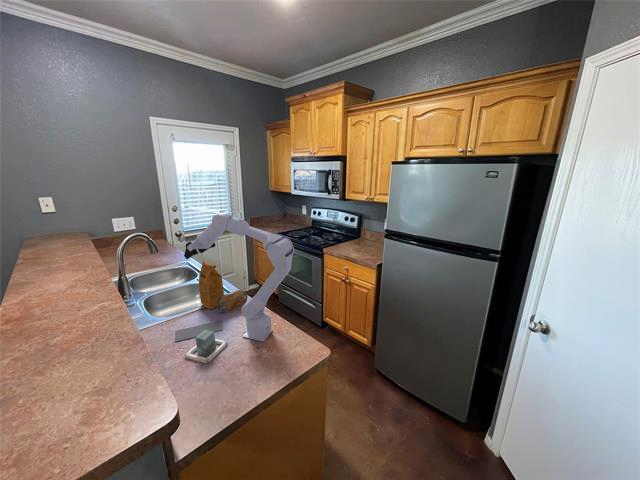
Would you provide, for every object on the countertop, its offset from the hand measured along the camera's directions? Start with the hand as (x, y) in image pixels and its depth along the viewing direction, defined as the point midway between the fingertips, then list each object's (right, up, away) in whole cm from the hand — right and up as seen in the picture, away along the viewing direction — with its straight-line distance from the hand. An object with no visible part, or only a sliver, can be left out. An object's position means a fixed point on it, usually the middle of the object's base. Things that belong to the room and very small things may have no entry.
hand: (193, 254), depth 108 cm
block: (+10, -36, -10) cm, 39 cm away
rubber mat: (+2, -32, +2) cm, 33 cm away
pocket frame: (+10, -36, -10) cm, 39 cm away
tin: (+10, -28, +20) cm, 36 cm away
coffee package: (-2, -27, +25) cm, 36 cm away
